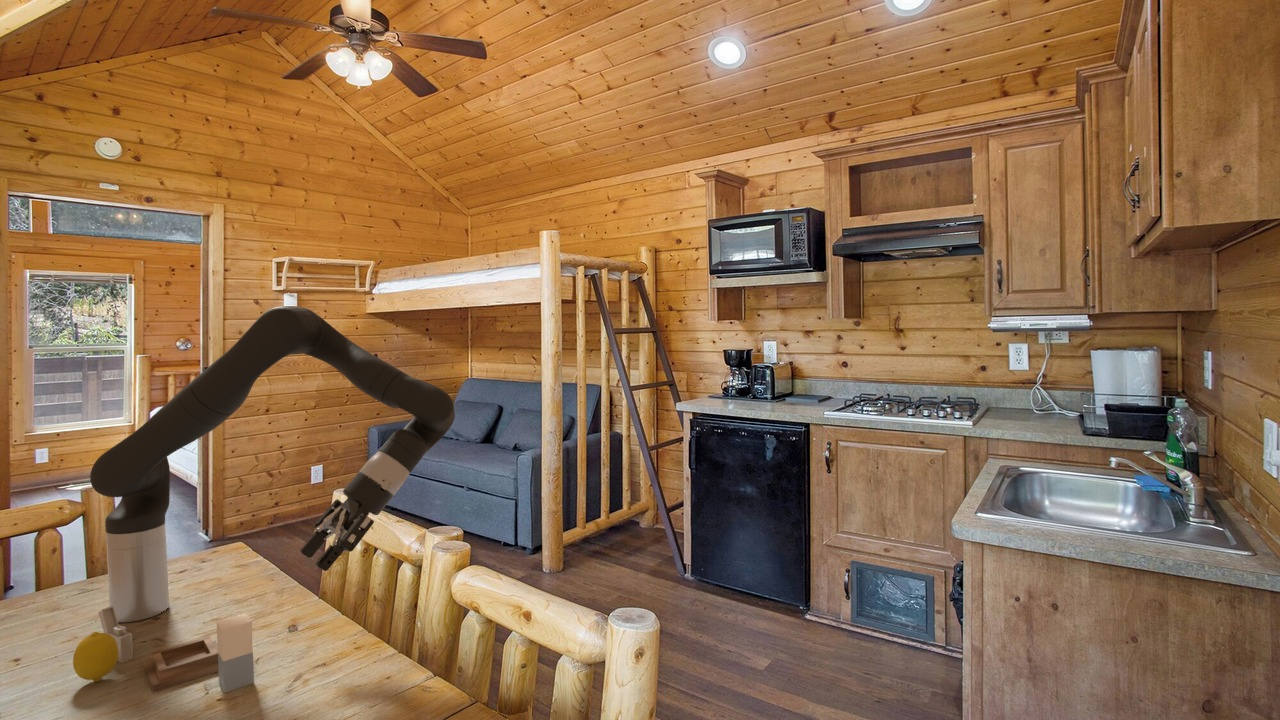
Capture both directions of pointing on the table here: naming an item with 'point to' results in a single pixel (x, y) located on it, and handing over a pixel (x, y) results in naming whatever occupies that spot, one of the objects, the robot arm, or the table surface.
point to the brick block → (235, 652)
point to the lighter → (117, 633)
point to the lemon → (95, 656)
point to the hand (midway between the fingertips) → (312, 561)
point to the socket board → (182, 663)
